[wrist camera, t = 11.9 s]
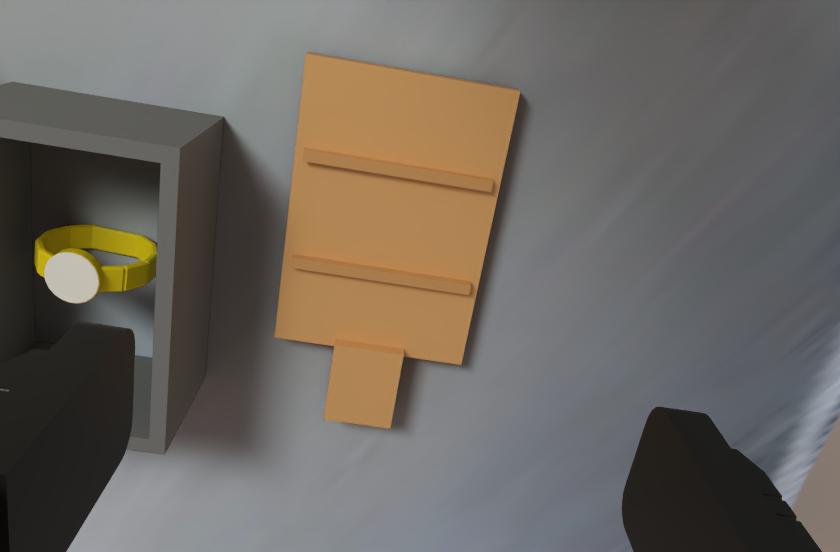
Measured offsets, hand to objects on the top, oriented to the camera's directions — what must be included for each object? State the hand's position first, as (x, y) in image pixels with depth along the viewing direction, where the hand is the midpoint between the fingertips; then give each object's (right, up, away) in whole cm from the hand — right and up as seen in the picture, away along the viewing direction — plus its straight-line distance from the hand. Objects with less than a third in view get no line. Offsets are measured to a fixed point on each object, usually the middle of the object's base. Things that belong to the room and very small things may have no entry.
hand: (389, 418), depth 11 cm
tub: (-17, +4, +31) cm, 35 cm away
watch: (-17, +4, +31) cm, 35 cm away
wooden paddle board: (-2, +4, +31) cm, 31 cm away
